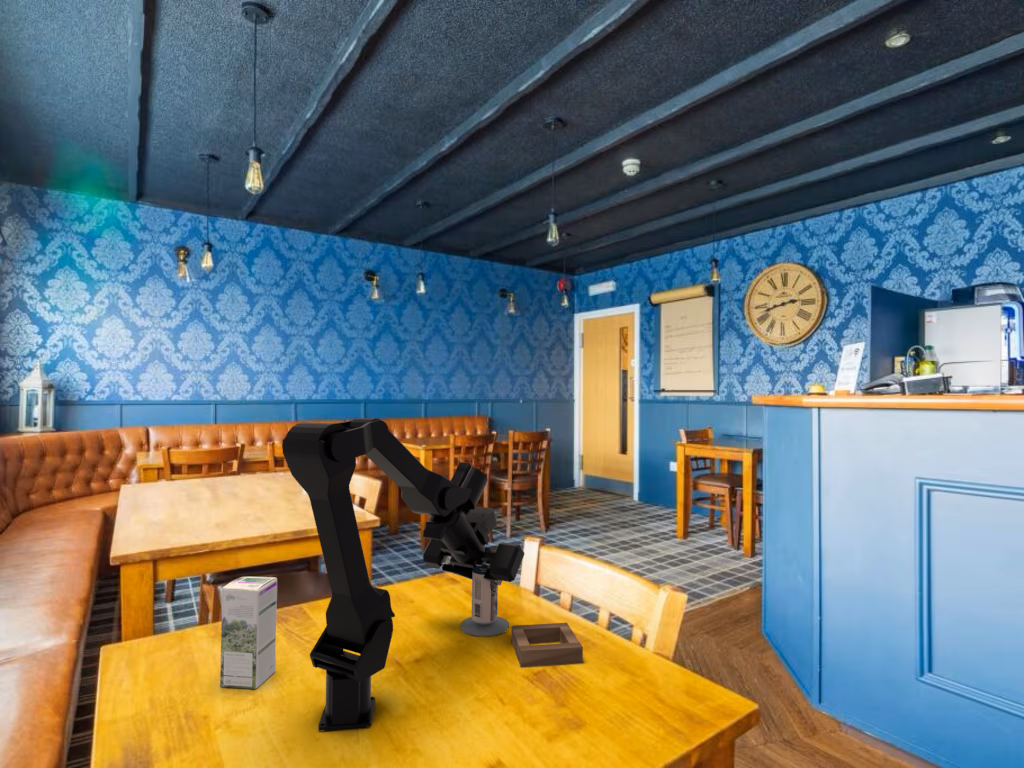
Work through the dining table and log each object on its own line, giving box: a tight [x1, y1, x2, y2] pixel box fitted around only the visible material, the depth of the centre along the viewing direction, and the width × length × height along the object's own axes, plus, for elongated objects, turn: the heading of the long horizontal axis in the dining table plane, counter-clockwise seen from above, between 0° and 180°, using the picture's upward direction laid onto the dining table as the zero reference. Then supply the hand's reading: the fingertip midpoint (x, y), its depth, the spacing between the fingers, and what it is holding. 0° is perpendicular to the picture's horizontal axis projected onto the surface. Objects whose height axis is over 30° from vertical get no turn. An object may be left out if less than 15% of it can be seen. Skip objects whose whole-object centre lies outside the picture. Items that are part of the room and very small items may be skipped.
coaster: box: [460, 615, 510, 638], centre depth 102 cm, size 9×9×1 cm
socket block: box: [510, 622, 584, 668], centre depth 92 cm, size 10×10×2 cm
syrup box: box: [219, 575, 278, 690], centre depth 82 cm, size 6×6×14 cm
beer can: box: [471, 562, 499, 625], centre depth 102 cm, size 5×5×12 cm
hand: (488, 580), depth 103 cm, fingers closed on beer can, 5 cm apart
